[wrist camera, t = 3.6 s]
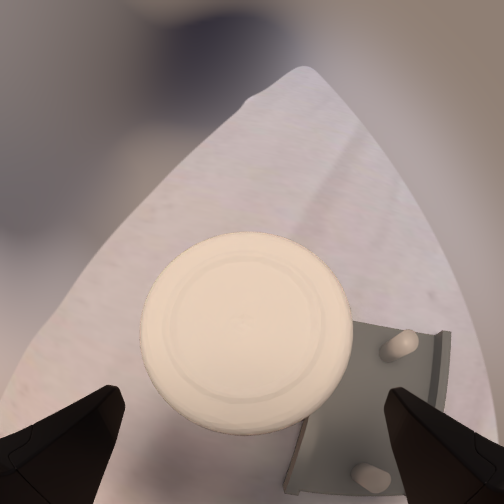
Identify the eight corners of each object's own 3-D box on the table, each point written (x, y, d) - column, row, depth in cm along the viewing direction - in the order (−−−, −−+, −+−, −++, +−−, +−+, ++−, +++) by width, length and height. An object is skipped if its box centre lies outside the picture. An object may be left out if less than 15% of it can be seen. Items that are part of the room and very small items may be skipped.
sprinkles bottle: (210, 370, 17) (105, 285, 6) (269, 335, 18) (272, 194, 7) (248, 428, 15) (202, 478, 4) (308, 390, 16) (401, 343, 5)
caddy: (409, 492, 11) (435, 503, 8) (282, 485, 13) (286, 503, 10) (438, 338, 17) (466, 322, 14) (327, 318, 19) (340, 298, 16)
